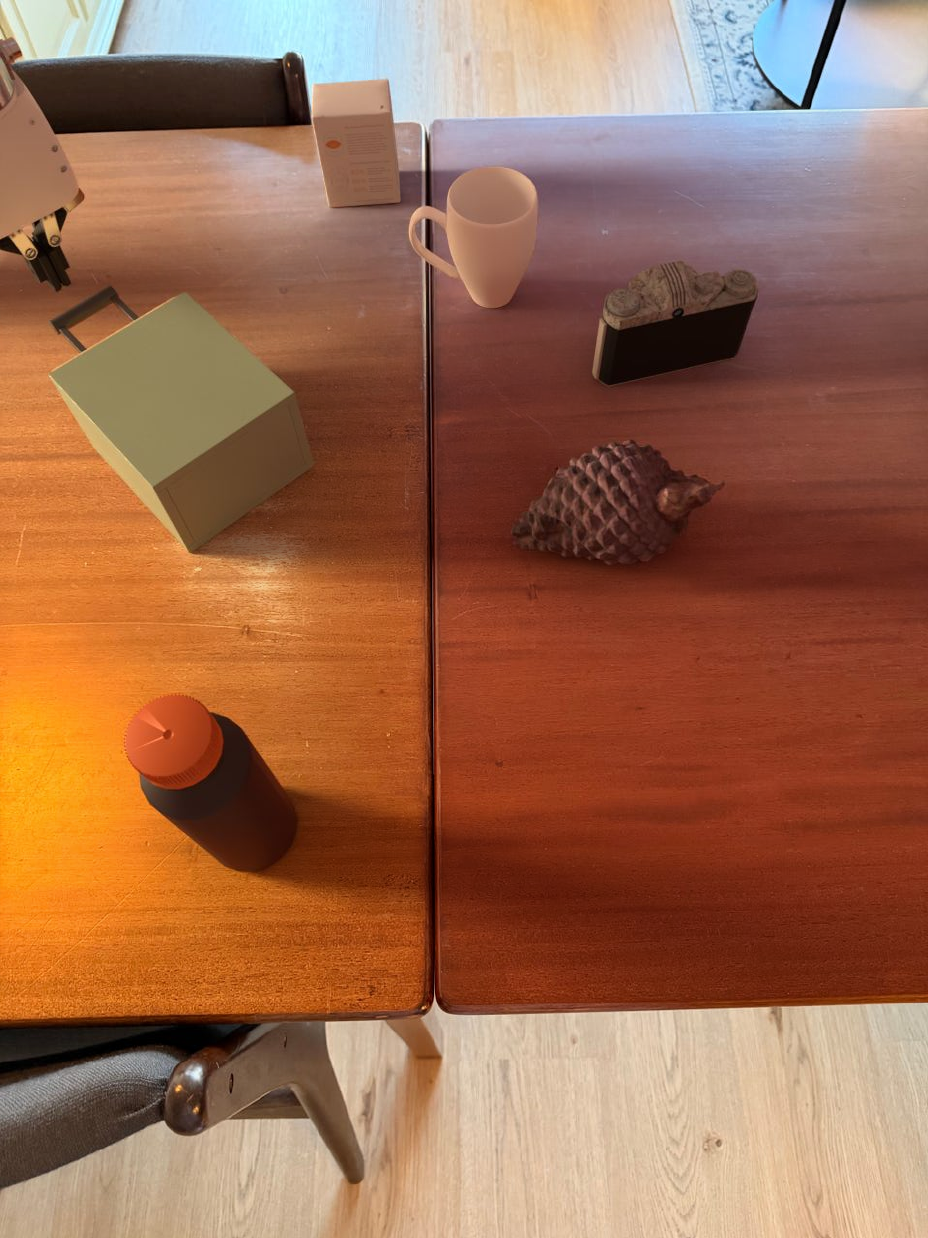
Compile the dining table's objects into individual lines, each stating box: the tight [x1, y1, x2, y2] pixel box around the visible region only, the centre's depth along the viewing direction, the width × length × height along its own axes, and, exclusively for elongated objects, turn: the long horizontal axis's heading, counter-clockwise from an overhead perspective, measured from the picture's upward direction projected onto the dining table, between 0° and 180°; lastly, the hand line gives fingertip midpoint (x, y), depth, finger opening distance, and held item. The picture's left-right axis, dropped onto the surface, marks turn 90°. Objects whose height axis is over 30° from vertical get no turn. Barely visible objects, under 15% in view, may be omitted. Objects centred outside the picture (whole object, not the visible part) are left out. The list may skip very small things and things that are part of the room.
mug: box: [408, 165, 539, 309], centre depth 87 cm, size 12×8×11 cm
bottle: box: [123, 693, 299, 873], centre depth 58 cm, size 7×7×20 cm
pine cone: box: [510, 439, 726, 566], centre depth 74 cm, size 18×10×10 cm
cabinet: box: [47, 291, 316, 554], centre depth 79 cm, size 16×14×10 cm
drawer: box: [48, 284, 177, 372], centre depth 81 cm, size 22×13×8 cm, turn 42°
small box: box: [311, 78, 401, 208], centre depth 95 cm, size 8×6×10 cm
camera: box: [591, 260, 759, 387], centre depth 83 cm, size 15×7×10 cm, turn 105°
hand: (55, 279), depth 82 cm, fingers closed
